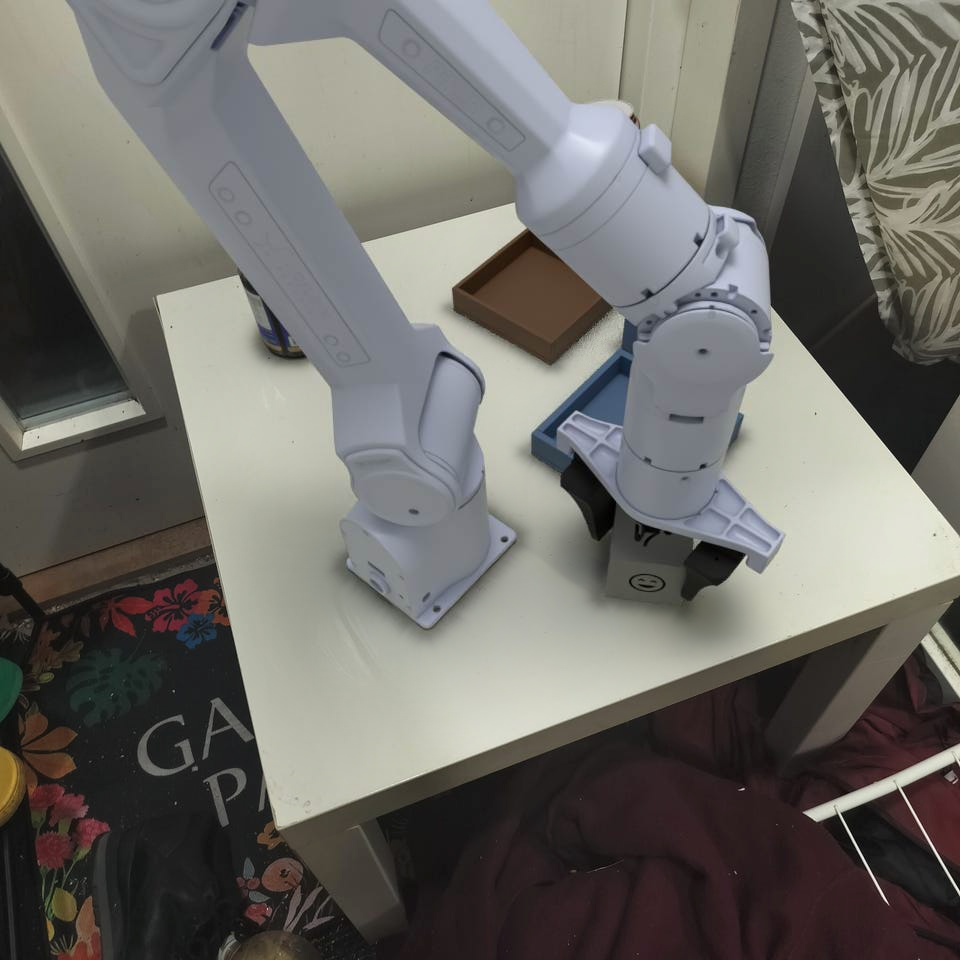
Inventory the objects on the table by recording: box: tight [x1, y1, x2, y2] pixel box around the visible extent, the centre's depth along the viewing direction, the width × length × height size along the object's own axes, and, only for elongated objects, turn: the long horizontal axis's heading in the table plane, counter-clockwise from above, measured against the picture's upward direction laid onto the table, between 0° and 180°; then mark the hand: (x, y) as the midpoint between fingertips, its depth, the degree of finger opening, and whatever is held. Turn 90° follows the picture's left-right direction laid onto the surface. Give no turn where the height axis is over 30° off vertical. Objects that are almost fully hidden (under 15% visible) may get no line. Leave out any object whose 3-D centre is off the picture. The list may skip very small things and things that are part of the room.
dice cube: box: [604, 502, 695, 607], centre depth 56 cm, size 5×5×5 cm
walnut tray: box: [451, 227, 614, 366], centre depth 73 cm, size 11×11×2 cm
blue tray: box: [530, 347, 745, 474], centre depth 63 cm, size 11×11×2 cm
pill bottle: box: [237, 267, 306, 357], centre depth 68 cm, size 6×6×11 cm
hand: (647, 559), depth 56 cm, fingers closed on dice cube, 6 cm apart
